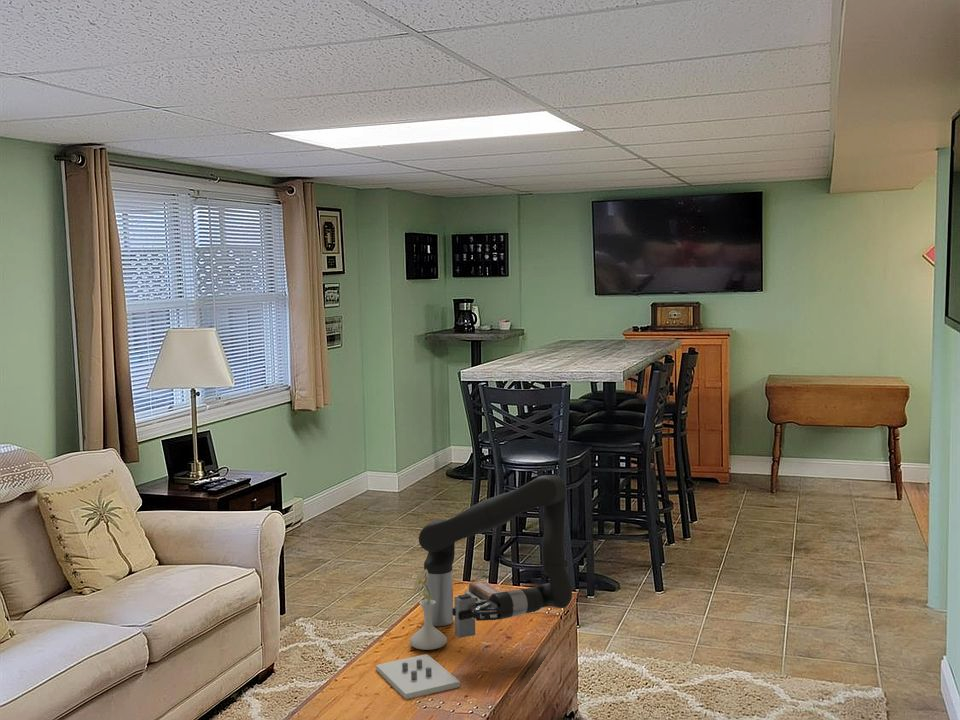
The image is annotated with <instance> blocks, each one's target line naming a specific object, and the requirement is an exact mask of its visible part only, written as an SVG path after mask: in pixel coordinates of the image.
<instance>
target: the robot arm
mask: <svg viewBox="0 0 960 720" xmlns="http://www.w3.org/2000/svg"><path fill="white" fill-rule="evenodd" d="M566 500H567V486H566V482H564V480H563V478H562V477H559V475H555V474H548V475H547V474H546V475H545V474H544V475H539V476H537V477H536V478H534V479H532V480H531V481H528V482H527V483H525V484H523V485H521V486H520V487H517V488H516V489H513V490H511V491H507V492H503V493H501V494H497V495H495V496H492V497H490V498H487V499H485V500H482V501H480V502H477V503H476V504H474V505H472V506H470V507H468V508H466V509H465V510H463V511H461V512H460V513H458V514H457V515H455V516H453V517H451V518H448V519H441V518H440V519H436V520H434V521H431V522H430V523H428V524H427V525H425V526H424V527H423V528H422V529H421V531H420V533H419V535H418V543H419V546H420V547H421V549H423V550H424V551H427V552H428V553H427V555H426V559H425V560H424V563H423V569H424V571H425V570H426V569H427V570H428V580H427V583H426V585H427V587H428V589H429V593H430V595H431V597H430V600H434V601H436V603H435V604H434V606H433V609H432V625H433V626H434V627H445V626H449V625H451V624H453V623H454V617H455V607H454V592H453V591H454V590H453V589H454V582H453V576H454V575H453V563H454V561H455V547H456V546H455V545H456V544H455V543H456V542H458V541H460V540H463V539H466V538H470V537H473V536H476V535H479V534H483V533H486V532H488V531H491V530H494V529H496V528H498V527H501V526H503V525H505V524H507V523H509V522H510V521H511V520H513V519H515V518H516V517H518V516H519V515H521V514H522V513H525V512H527V511H531V510H533V509H537V508H542V507H543V509H544V516H545V517H544V530H543V536H542V541H541V559H542V560H541V561H542V570H543V574H544V575H546V576H547V577H548V579H549V582H547V583H542V584H539V585H536V586H534V587H528V588H522V589H513V590H512V589H511V590H507V591H501V592H500V593H494V594H492V595H491V596H490V598H489V600H481V601H478V598H475V609H472V610H471V611H470V610H467V611H462V612H459V613H458V619H459V620H464V619H469V618H471V619H475V621H481V622H484V621H496V620H497V621H499V620H504V619H509V618H515V617H518V616H521V615H524V614H525V615H526V614H530V613H535V612H537V611H540V610H541V609H543V608H546V607H547V608H548V607H553V608H558V609H564V608H567V607H568V606H569V605H570V603H571V602H572V598H573V589H572V585H571V582H570V581H571V580H570V577H569V574H568V571H567V566H566V564H567V563H566V548H565V511H566V510H565V509H566V502H567V501H566ZM424 588H425V589H426V590H427V588H426V586H424ZM424 588H423V589H424ZM427 591H428V590H427ZM426 599H427V598H426V597H425V596H424V600H426Z"/></svg>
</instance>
